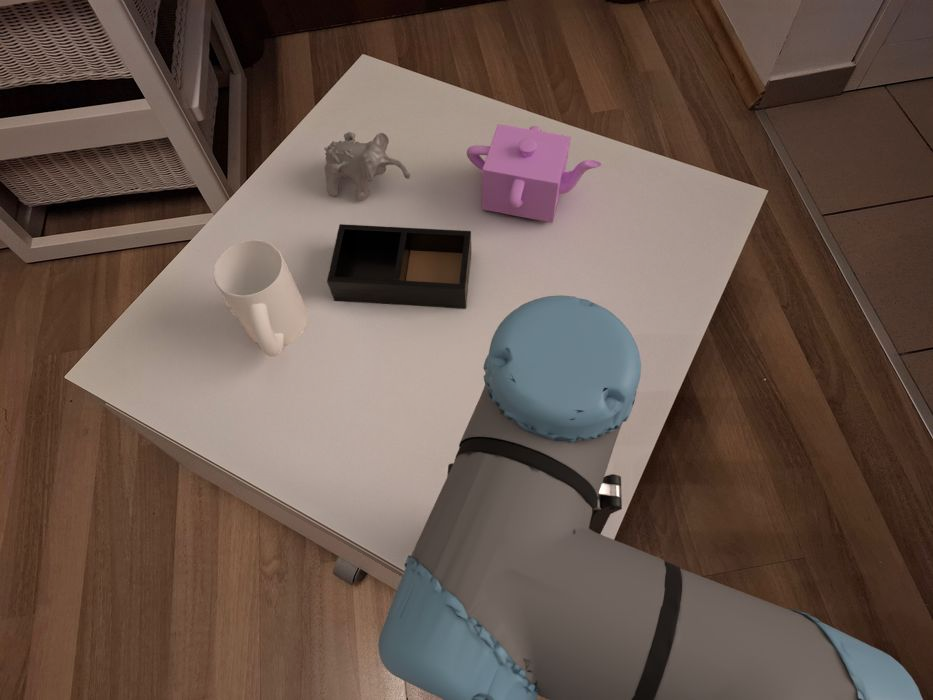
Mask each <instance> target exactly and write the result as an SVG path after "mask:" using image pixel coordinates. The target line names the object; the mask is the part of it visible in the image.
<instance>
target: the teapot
mask: <svg viewBox="0 0 933 700" xmlns="http://www.w3.org/2000/svg"><path fill="white" fill-rule="evenodd" d="M570 144H571V136H570V135H569V136H568V135H564V134H559V133H553V132H548V131H547V132H546V131H542V129H541V128H540V127H539V126H534V125H533V126H530V127H529V128H525V127H517V126H512V125H506V124H500V123H499V124H497V126H496V127H495V131H494V134H493V137H492V140H491V143H490V145H483V144H482V145H472V146H469V147H468V148H467V149H466V157H467V158H468V159H469V162H470V163H471V164H473V165H474V166H475V167H476V168H477V169H478V170H480V171H481V207H482V208H481V209H482V210H485V211H489V212H495V213H500V214H505V215H510V216H515V217H521V218H526V219H531V220H535V221H542V222H546V223H553V222H554V219H555V215H556V211H557V207H558V203H559V199H560V196H561V195H564V194H567V193H569V192H570V191H572V190H573V189H574V188H575V187H576V186H577V184H578V183H579V181H580V179H581V178H582V176H583V175H584V174H585V173H586V172H587V171H589V170H591V169H595V168H599V167H601V166H602V163H601V162H600V161H598V160H593V159H586V160H582V161H581V162H579V163H578V164H577V165H576V166H575V167H574V168H573V169H572V170H570V171H566V170H567V164H568V156H569V152H570ZM481 156H486V157H485V160H484V159H483V158H482V157H481Z"/></svg>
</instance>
